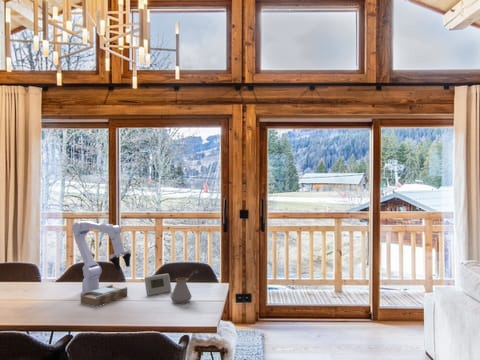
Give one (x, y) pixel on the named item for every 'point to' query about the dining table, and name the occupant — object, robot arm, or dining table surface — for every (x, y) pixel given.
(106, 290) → the lid plate
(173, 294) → the coffee pot
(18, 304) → the dining table surface
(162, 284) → the digital clock
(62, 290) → the dining table surface
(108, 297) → the slide box
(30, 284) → the dining table surface
